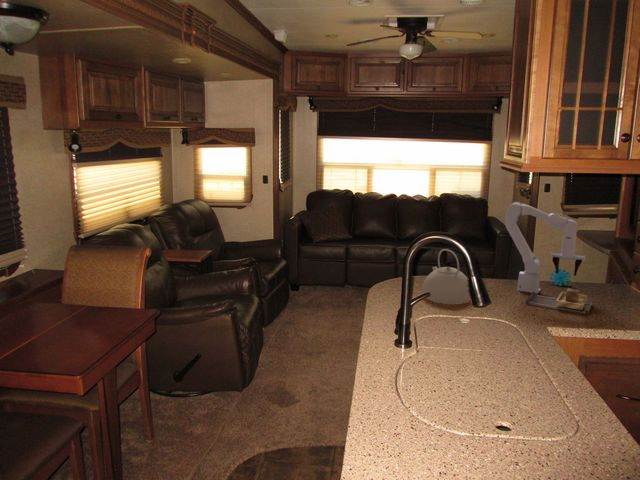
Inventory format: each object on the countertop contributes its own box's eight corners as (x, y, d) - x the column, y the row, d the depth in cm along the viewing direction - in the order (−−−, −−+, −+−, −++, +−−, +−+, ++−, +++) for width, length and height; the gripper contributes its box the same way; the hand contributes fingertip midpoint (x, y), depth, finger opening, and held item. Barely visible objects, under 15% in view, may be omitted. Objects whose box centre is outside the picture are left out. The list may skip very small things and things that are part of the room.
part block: (565, 301, 227) (566, 290, 226) (566, 298, 231) (567, 288, 230) (576, 303, 225) (577, 292, 224) (577, 300, 229) (579, 289, 228)
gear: (545, 280, 263) (555, 265, 265) (547, 286, 267) (557, 271, 269) (566, 288, 255) (576, 272, 257) (568, 294, 259) (578, 279, 261)
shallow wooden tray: (555, 307, 225) (555, 300, 224) (561, 297, 237) (561, 291, 237) (582, 311, 219) (582, 304, 218) (586, 301, 232) (587, 295, 231)
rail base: (525, 304, 231) (525, 300, 231) (532, 295, 244) (533, 291, 244) (587, 315, 218) (587, 311, 217) (591, 304, 231) (592, 301, 231)
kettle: (411, 290, 251) (413, 245, 247) (452, 286, 258) (454, 242, 253) (437, 306, 228) (440, 257, 223) (481, 302, 234) (485, 253, 230)
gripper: (550, 245, 240) (547, 273, 243) (584, 249, 232) (581, 278, 235) (552, 243, 246) (550, 270, 249) (586, 246, 238) (584, 274, 241)
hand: (566, 274), depth 242 cm, fingers open, 7 cm apart
